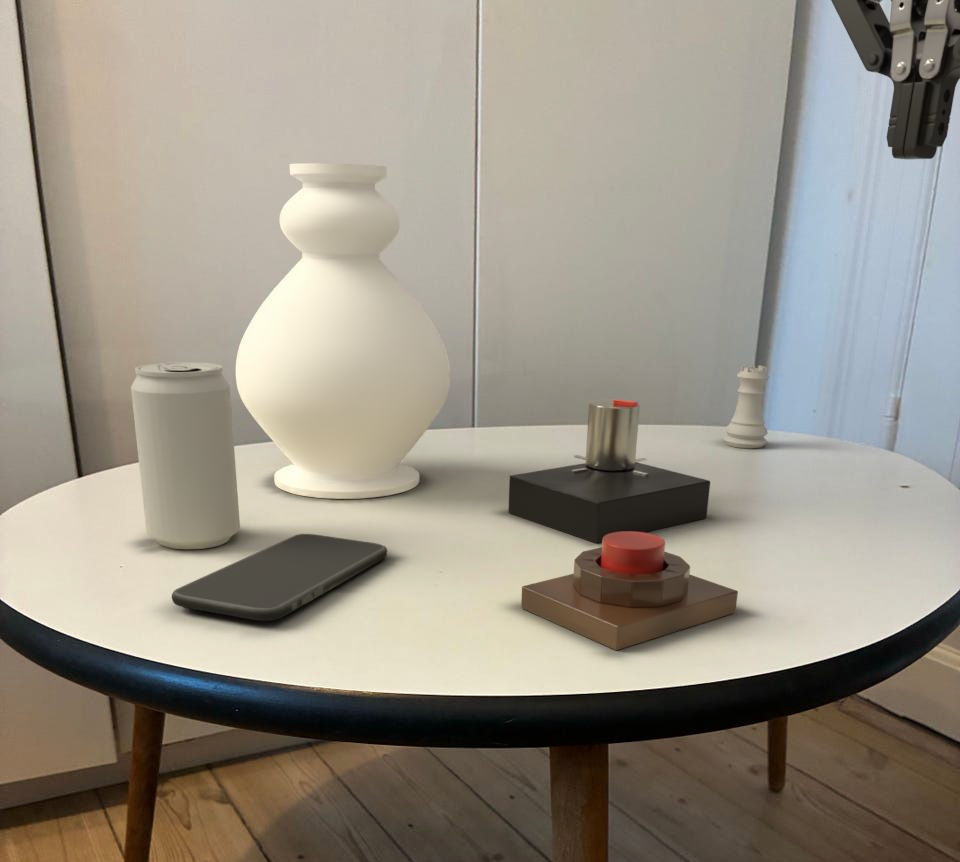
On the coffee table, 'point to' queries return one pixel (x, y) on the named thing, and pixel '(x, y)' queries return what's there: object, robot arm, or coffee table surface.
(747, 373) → the rook chess piece
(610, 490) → the black flat square block
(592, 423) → the hob knob
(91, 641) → the coffee table surface
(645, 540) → the button
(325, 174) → the decorative vase
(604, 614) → the button block
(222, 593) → the smartphone
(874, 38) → the robot arm
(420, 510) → the coffee table surface
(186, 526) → the beverage can
